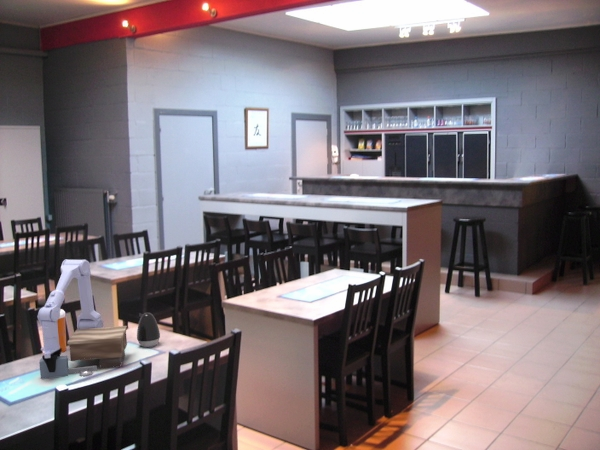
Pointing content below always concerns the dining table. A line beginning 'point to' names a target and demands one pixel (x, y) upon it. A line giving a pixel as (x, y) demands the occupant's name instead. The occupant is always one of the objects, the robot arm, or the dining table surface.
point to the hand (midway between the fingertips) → (53, 369)
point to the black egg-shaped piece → (147, 330)
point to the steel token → (85, 372)
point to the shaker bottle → (62, 330)
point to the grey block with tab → (60, 368)
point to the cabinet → (99, 345)
